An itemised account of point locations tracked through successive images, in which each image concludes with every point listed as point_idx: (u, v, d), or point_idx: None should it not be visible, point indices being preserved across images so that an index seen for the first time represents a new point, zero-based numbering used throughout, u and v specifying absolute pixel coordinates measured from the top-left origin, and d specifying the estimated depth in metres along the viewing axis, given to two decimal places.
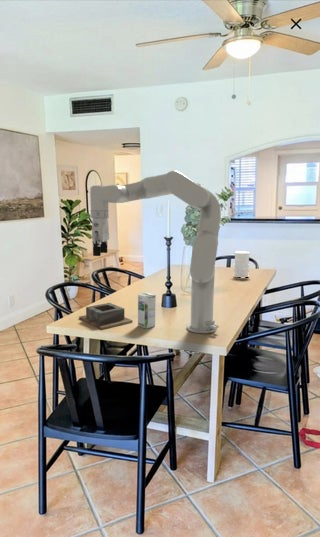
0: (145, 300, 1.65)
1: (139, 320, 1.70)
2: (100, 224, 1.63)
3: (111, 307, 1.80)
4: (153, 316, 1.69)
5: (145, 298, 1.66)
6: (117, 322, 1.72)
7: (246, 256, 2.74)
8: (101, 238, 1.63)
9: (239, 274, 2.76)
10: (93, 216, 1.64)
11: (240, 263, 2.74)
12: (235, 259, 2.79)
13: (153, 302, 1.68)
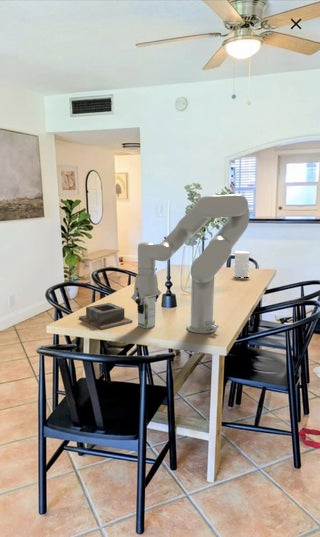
0: (145, 300, 1.65)
1: (139, 320, 1.70)
2: None
3: (111, 307, 1.80)
4: (153, 316, 1.69)
5: (144, 298, 1.65)
6: (117, 322, 1.72)
7: (246, 256, 2.74)
8: None
9: (239, 274, 2.76)
10: None
11: (240, 263, 2.74)
12: (235, 259, 2.79)
13: (153, 302, 1.68)
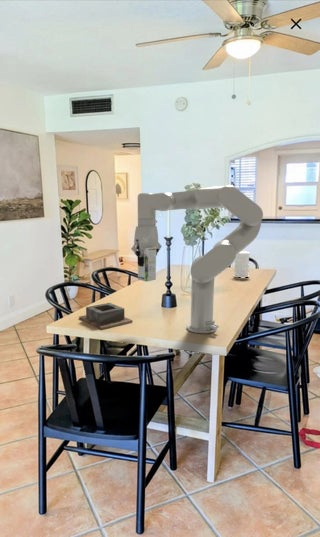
0: (145, 252, 1.62)
1: (139, 274, 1.66)
2: None
3: (111, 307, 1.80)
4: (153, 269, 1.65)
5: (145, 250, 1.62)
6: (117, 322, 1.72)
7: (246, 256, 2.74)
8: None
9: (239, 274, 2.76)
10: None
11: (240, 263, 2.74)
12: (235, 259, 2.79)
13: (153, 255, 1.65)
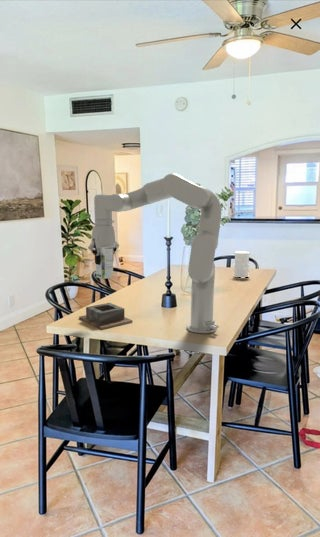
0: (102, 250, 1.69)
1: (97, 271, 1.73)
2: None
3: (111, 307, 1.80)
4: (110, 267, 1.73)
5: (101, 248, 1.69)
6: (117, 322, 1.72)
7: (246, 256, 2.74)
8: None
9: (239, 274, 2.76)
10: None
11: (240, 263, 2.74)
12: (235, 259, 2.79)
13: (110, 253, 1.72)
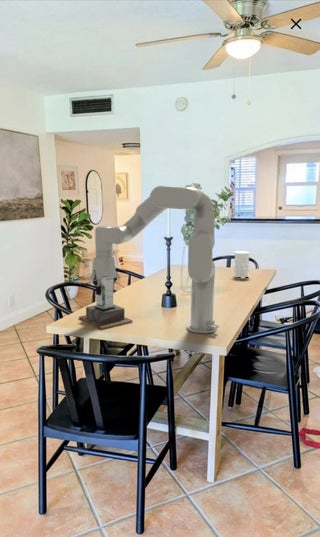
0: (102, 281, 1.72)
1: (97, 301, 1.76)
2: None
3: (111, 307, 1.80)
4: (110, 297, 1.75)
5: (102, 279, 1.72)
6: (117, 322, 1.72)
7: (246, 256, 2.74)
8: None
9: (239, 274, 2.76)
10: (112, 255, 1.74)
11: (240, 263, 2.74)
12: (235, 259, 2.79)
13: (110, 284, 1.74)
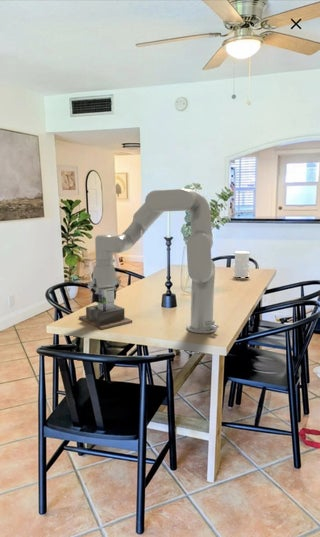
0: (103, 293, 1.73)
1: None
2: None
3: None
4: None
5: (103, 291, 1.73)
6: (117, 322, 1.72)
7: (246, 256, 2.74)
8: None
9: (239, 274, 2.76)
10: (112, 263, 1.75)
11: (240, 263, 2.74)
12: (235, 259, 2.79)
13: (112, 295, 1.75)
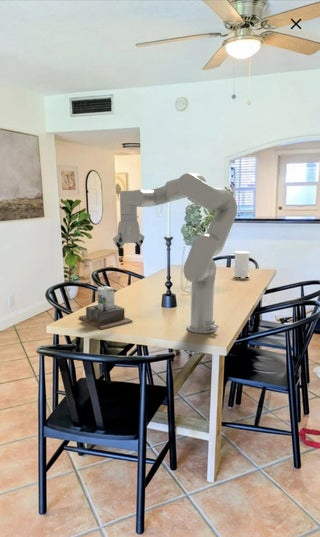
0: (103, 293, 1.73)
1: None
2: None
3: None
4: None
5: (103, 291, 1.73)
6: (117, 322, 1.72)
7: (246, 256, 2.74)
8: None
9: (239, 274, 2.76)
10: None
11: (240, 263, 2.74)
12: (235, 259, 2.79)
13: (112, 295, 1.75)
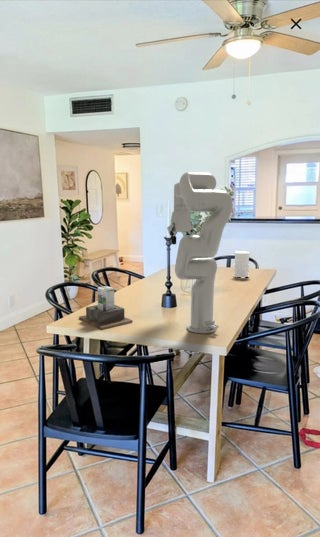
0: (103, 293, 1.73)
1: None
2: None
3: None
4: None
5: (103, 291, 1.73)
6: (117, 322, 1.72)
7: (246, 256, 2.74)
8: None
9: (239, 274, 2.76)
10: None
11: (240, 263, 2.74)
12: (235, 259, 2.79)
13: (112, 295, 1.75)
